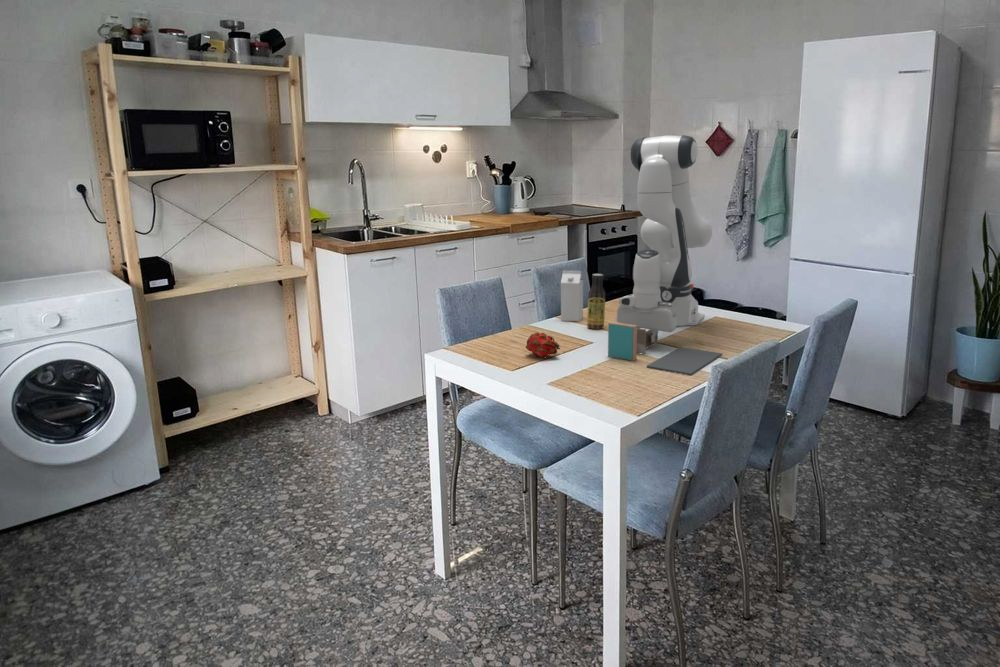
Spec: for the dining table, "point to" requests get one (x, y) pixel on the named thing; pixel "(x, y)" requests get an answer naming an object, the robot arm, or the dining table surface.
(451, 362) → the dining table surface
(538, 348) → the dragon fruit
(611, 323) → the tile
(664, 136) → the robot arm
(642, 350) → the wooden post on base
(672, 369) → the mat
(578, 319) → the milk carton
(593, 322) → the sauce bottle
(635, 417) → the dining table surface
